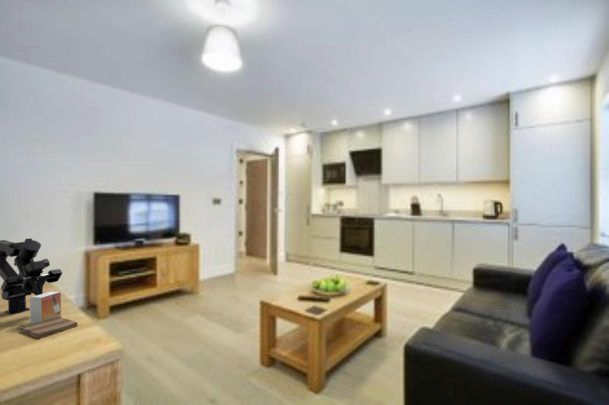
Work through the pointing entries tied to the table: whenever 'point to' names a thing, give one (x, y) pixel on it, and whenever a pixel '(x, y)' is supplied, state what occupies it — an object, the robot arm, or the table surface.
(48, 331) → the floor panel
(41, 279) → the robot arm
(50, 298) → the small box
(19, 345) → the table surface
